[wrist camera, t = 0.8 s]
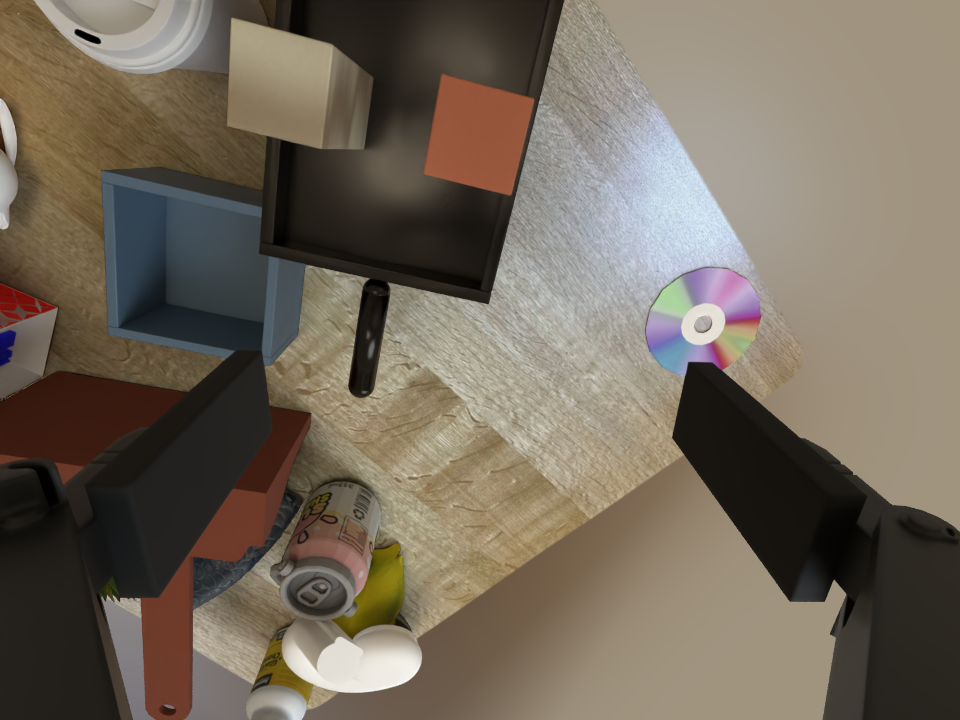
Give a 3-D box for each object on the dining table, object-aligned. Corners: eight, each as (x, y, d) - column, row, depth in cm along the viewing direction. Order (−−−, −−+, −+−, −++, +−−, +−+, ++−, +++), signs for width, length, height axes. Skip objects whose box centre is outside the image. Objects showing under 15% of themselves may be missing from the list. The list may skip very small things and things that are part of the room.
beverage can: (344, 554, 59) (317, 648, 48) (285, 513, 56) (241, 602, 45) (398, 507, 56) (382, 594, 45) (339, 462, 54) (307, 543, 43)
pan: (348, -27, 38) (284, -124, 24) (536, 27, 40) (573, -37, 26) (309, 317, 48) (249, 382, 34) (460, 348, 50) (459, 422, 36)
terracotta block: (448, 96, 30) (441, 73, 21) (513, 114, 30) (534, 98, 21) (435, 167, 31) (422, 174, 22) (497, 182, 32) (511, 196, 23)
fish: (421, 560, 56) (344, 520, 58) (362, 695, 55) (286, 650, 57) (427, 554, 59) (354, 516, 61) (371, 682, 58) (298, 640, 60)
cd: (764, 258, 47) (763, 257, 47) (643, 278, 47) (643, 278, 47) (758, 367, 51) (757, 367, 51) (647, 384, 52) (647, 384, 52)
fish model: (152, 574, 59) (126, 610, 55) (265, 467, 54) (247, 497, 50) (201, 603, 61) (180, 640, 57) (314, 503, 56) (302, 535, 52)
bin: (160, 166, 43) (100, 169, 36) (312, 202, 44) (283, 211, 37) (160, 307, 47) (107, 335, 40) (298, 335, 49) (270, 366, 42)
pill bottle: (300, 615, 62) (266, 712, 51) (335, 645, 64) (309, 744, 54) (260, 638, 63) (219, 737, 53) (296, 666, 66) (263, 768, 55)
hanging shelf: (57, 371, 49) (80, 599, 60) (-76, 443, 37) (-16, 713, 48) (311, 413, 52) (289, 624, 63) (266, 493, 40) (248, 737, 50)
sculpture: (360, 681, 59) (351, 763, 52) (256, 627, 52) (230, 714, 45) (442, 639, 55) (443, 721, 49) (343, 575, 49) (329, 660, 42)
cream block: (304, 59, 29) (230, 16, 20) (374, 77, 30) (333, 44, 20) (297, 133, 31) (225, 125, 21) (364, 149, 31) (321, 149, 22)
